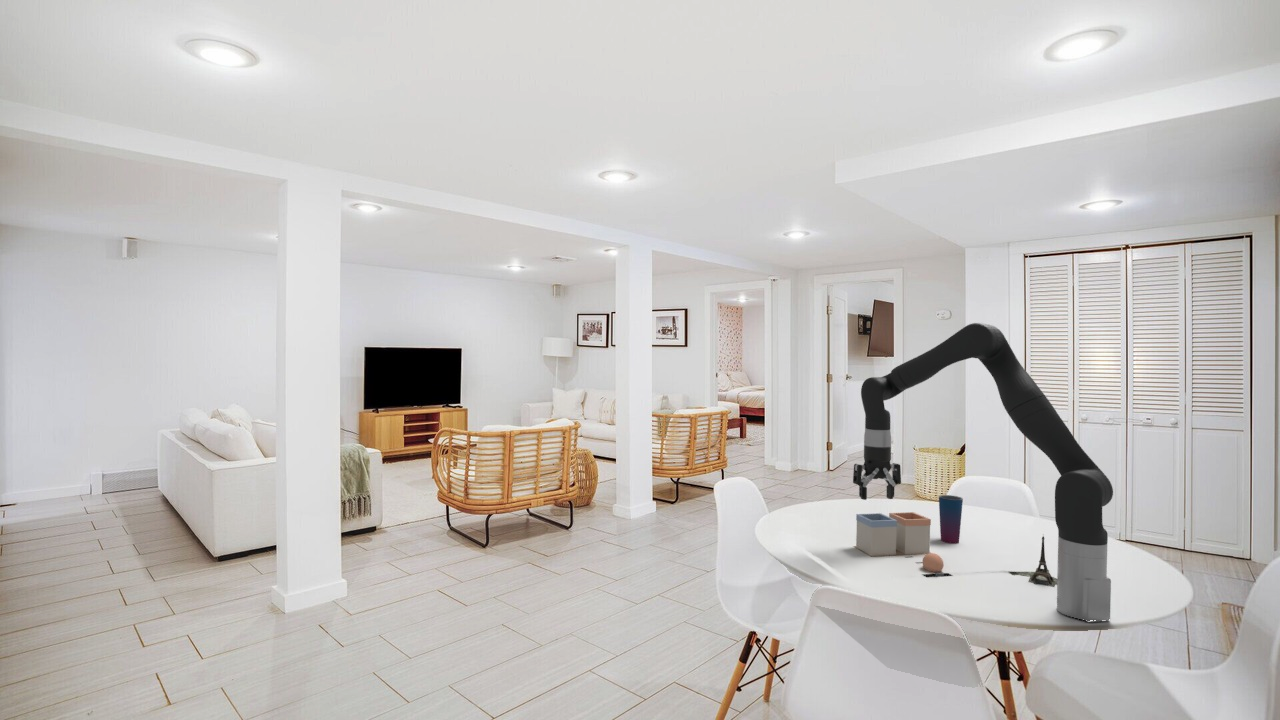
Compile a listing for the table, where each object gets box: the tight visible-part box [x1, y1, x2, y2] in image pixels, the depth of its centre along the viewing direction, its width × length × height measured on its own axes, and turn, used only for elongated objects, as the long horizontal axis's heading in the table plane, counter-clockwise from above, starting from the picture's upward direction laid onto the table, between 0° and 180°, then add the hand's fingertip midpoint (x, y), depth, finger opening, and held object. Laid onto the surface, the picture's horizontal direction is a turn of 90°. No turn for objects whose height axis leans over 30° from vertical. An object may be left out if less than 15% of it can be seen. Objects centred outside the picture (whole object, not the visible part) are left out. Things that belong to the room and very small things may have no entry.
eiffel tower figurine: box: [1008, 535, 1057, 588], centre depth 163 cm, size 15×10×13 cm
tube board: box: [852, 545, 929, 558], centre depth 184 cm, size 10×20×1 cm, turn 101°
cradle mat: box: [905, 555, 954, 578], centre depth 171 cm, size 14×8×1 cm, turn 11°
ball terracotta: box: [922, 552, 945, 573], centre depth 167 cm, size 5×5×5 cm
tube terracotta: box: [888, 511, 932, 554], centre depth 185 cm, size 8×8×10 cm
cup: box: [938, 494, 964, 544], centre depth 194 cm, size 7×7×15 cm
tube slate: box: [855, 512, 897, 556], centre depth 183 cm, size 8×8×10 cm
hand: (876, 498), depth 183 cm, fingers open, 8 cm apart
